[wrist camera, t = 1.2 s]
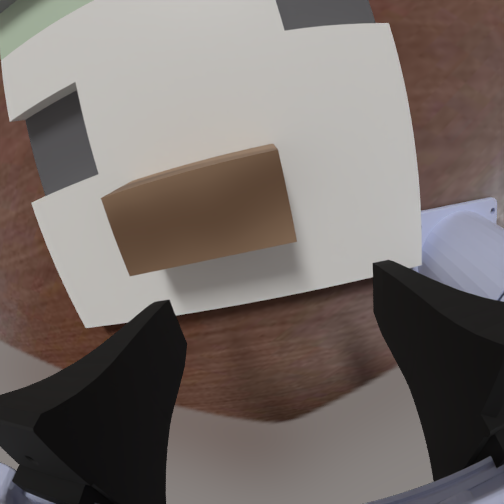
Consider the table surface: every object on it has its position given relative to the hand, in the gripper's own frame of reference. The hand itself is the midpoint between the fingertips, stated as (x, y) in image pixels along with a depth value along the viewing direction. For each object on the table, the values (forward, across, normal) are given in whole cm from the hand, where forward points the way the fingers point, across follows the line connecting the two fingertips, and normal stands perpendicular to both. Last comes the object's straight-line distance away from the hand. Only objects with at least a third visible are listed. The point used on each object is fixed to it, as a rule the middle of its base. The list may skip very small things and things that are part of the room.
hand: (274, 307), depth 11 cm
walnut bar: (+8, +3, -3) cm, 8 cm away
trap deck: (+10, +3, -9) cm, 13 cm away
